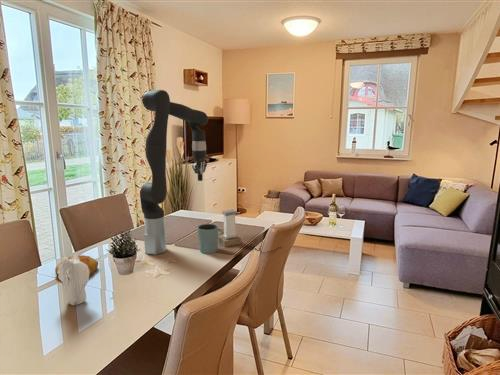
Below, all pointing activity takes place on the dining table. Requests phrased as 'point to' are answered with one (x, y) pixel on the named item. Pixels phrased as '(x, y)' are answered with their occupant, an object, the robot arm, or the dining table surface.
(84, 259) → the croissant
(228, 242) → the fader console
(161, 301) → the dining table surface
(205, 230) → the teal cylindrical container
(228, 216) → the white tall block
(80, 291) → the shell sculpture
